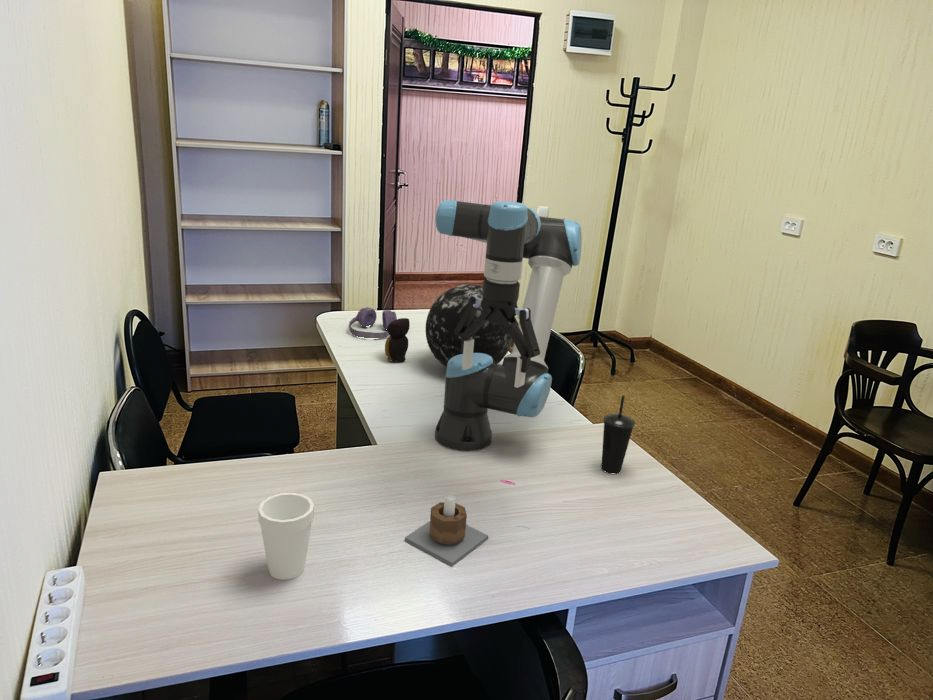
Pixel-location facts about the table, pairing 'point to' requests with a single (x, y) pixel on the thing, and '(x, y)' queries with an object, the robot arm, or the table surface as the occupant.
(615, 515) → the table surface
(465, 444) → the robot arm
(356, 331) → the headphones
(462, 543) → the grey peg stand
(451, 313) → the globe
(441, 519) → the brown faceted ring
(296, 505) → the foam cup
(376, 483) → the table surface
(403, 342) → the figurine
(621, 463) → the drinking cup
